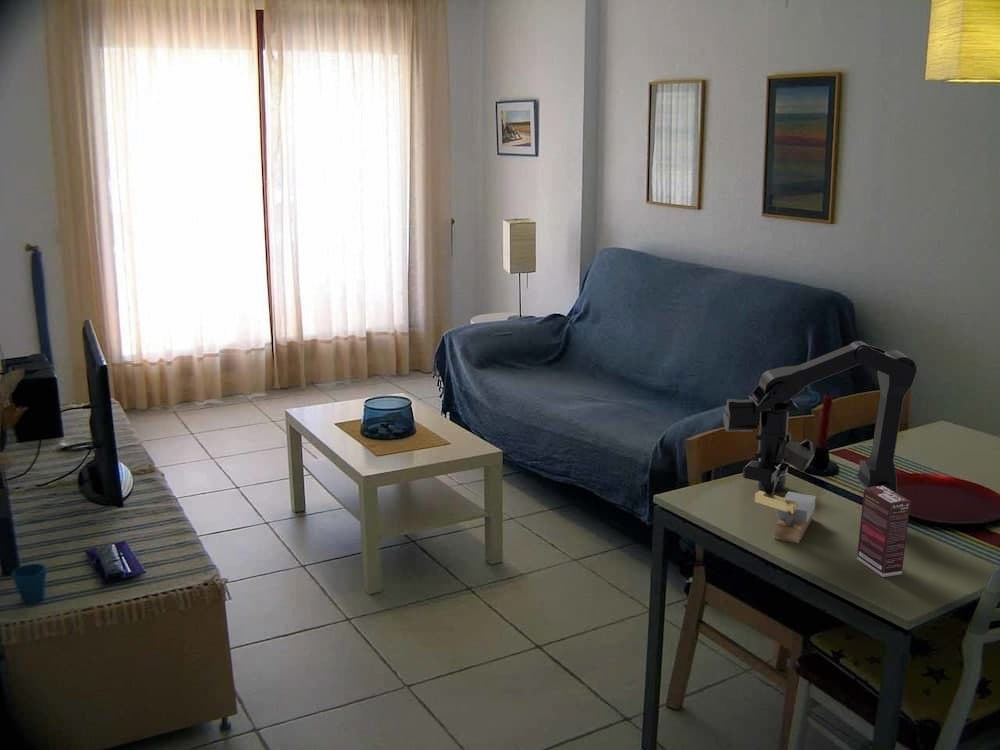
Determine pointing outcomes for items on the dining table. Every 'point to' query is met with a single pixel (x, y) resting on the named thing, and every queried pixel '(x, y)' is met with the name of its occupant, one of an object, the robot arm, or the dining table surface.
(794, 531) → the key box
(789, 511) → the tan rectangular bar
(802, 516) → the cover
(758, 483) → the supplement bottle
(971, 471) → the dining table surface
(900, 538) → the supplement box
